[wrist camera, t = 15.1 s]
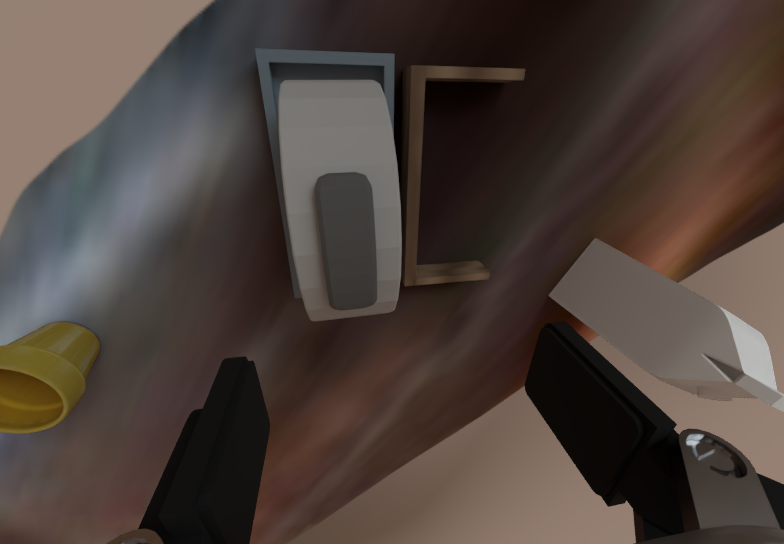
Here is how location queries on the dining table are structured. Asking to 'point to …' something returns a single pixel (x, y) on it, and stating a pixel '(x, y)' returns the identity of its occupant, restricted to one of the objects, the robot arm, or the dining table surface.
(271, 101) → the slate tray
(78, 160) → the dining table surface
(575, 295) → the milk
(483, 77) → the walnut stall
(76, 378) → the plant pot
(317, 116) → the alarm clock
